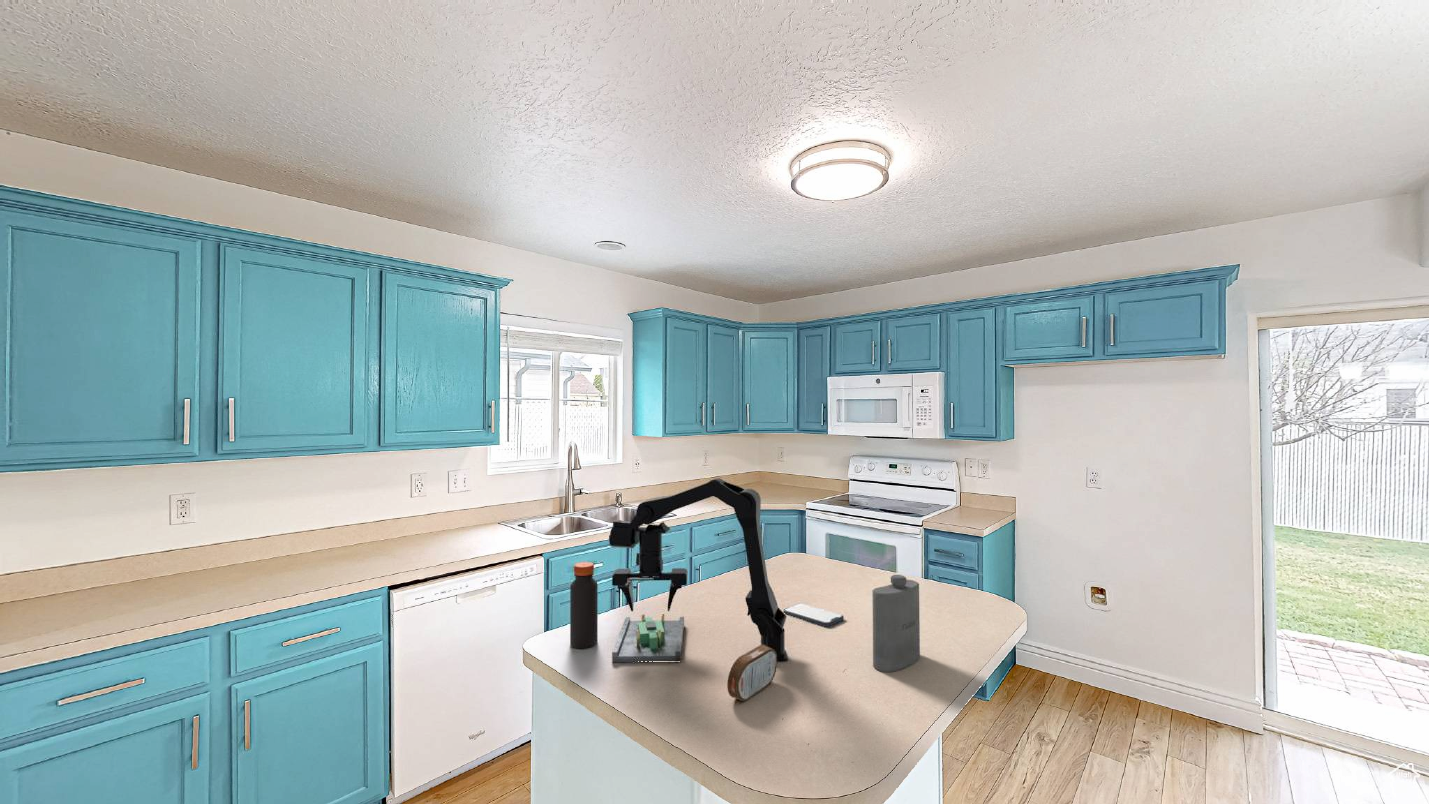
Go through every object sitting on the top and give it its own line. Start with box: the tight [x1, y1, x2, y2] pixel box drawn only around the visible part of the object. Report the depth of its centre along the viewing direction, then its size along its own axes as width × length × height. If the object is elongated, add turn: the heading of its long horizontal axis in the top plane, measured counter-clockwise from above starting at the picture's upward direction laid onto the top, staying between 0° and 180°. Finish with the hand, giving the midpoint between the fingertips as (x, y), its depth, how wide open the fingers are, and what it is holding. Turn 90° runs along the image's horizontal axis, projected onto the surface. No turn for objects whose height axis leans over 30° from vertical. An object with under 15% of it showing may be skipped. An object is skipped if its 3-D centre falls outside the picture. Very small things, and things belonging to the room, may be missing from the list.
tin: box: [726, 644, 778, 702], centre depth 116 cm, size 15×3×8 cm, turn 141°
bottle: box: [569, 561, 599, 650], centre depth 140 cm, size 7×7×20 cm
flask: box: [872, 574, 921, 673], centre depth 129 cm, size 15×6×20 cm, turn 129°
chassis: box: [611, 613, 685, 664], centre depth 140 cm, size 22×16×5 cm
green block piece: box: [638, 616, 665, 649], centre depth 140 cm, size 14×6×3 cm, turn 12°
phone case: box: [783, 603, 845, 628], centre depth 158 cm, size 9×2×16 cm
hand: (650, 610), depth 140 cm, fingers open, 9 cm apart
